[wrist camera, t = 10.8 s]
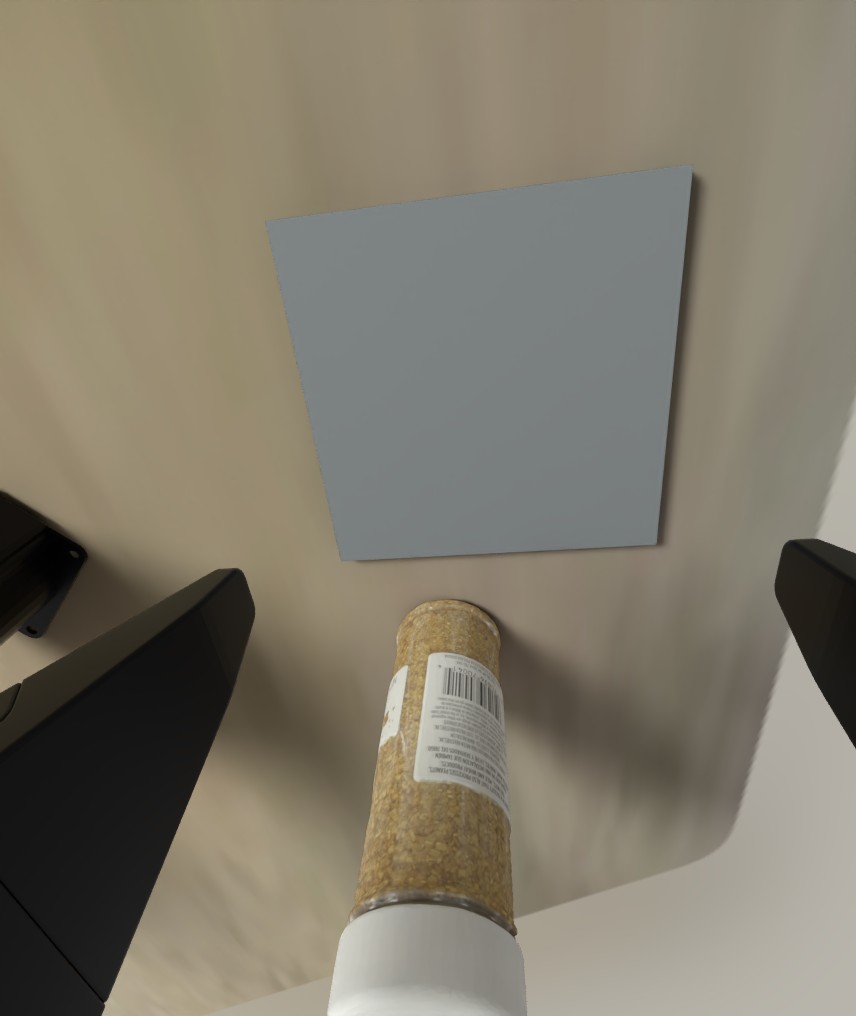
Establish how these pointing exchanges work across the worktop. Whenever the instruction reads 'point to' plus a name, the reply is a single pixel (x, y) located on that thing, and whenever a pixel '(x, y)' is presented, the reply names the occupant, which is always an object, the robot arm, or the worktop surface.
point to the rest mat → (490, 363)
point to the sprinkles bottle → (437, 836)
